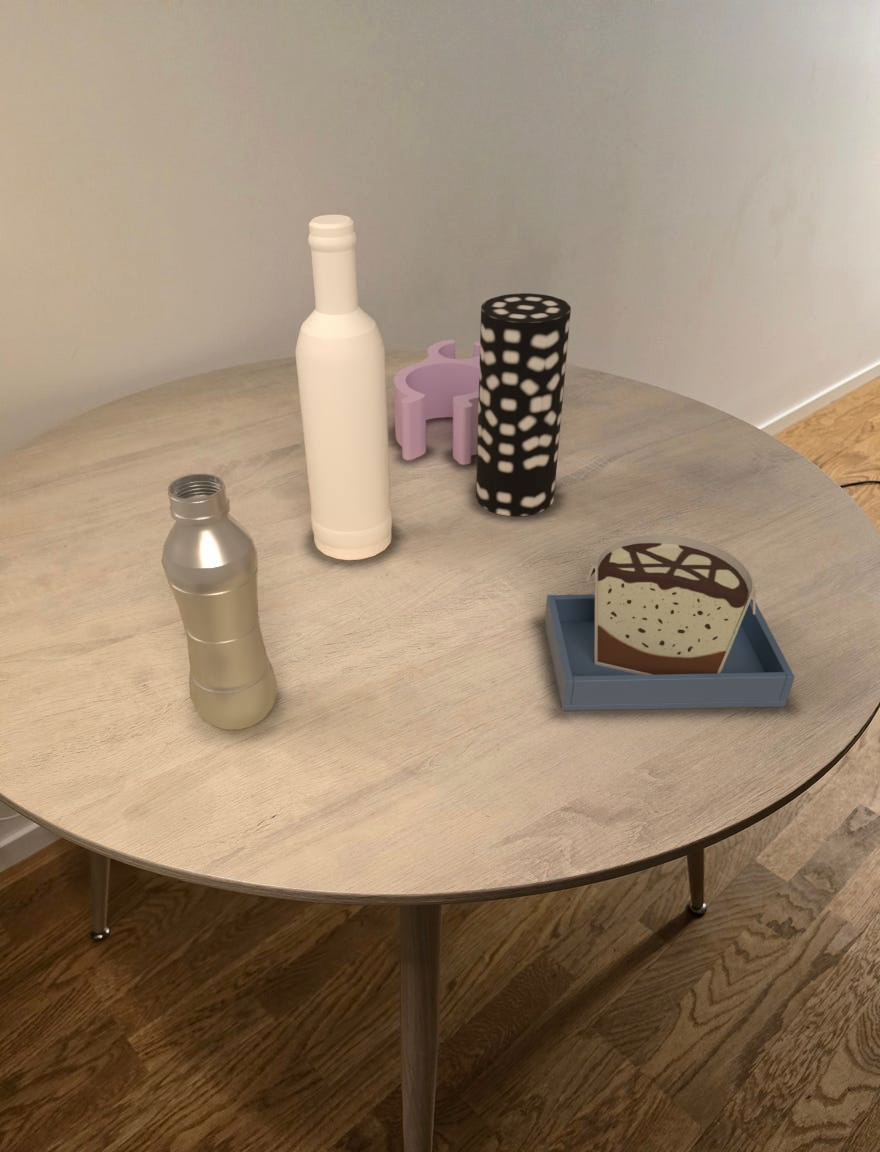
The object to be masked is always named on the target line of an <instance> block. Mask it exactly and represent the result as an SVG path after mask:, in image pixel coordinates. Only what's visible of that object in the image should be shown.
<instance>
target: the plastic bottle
mask: <svg viewBox="0 0 880 1152" xmlns="http://www.w3.org/2000/svg"><path fill="white" fill-rule="evenodd" d="M167 495H168V500H169V504H170V506H169V511H170V515H171V518H172V519H173V520H174V523H173V525H172V527H171V529H170V530H169V532H168V534H167V537H166V538H165V541H164V544H163V546H162V553H161V554H162V555H161V564H162V568H163V572H164V574H165V577H166V580H167V583H168V585H169V587H170V590H171V592H172V595H173V598H174V600H175V603H176V605H177V608H178V611H179V614H180V617H181V621H182V624H183V628H184V633H185V635H186V643H187V651H188V660H189V661H188V663H189V677H188V680H189V681H188V685H189V687H188V688H189V696H190V700H191V702H192V704H193V706H194V708H195V710H196V712H197V714H198V716H199V717H200V718H201V719H202V720H204V721H206V722H207V723H209V724H210V725H212V726H213V727H216V728H219V729H221V730H233V731H234V730H242V729H246V728H249V727H252V726H255V725H256V724H258V723H260V722H261V721H262V720H264V719H265V718H266V717H267V715H269V713H270V712H271V710H272V709H273V708H274V705H275V702H276V699H277V688H278V686H277V685H278V683H277V678H276V675H275V672H274V669H273V666H272V663H271V660H270V658H269V656H268V653H267V649H266V645H265V642H264V638H263V635H262V630H261V625H260V624H261V623H260V615H259V602H258V601H259V600H258V578H259V577H258V576H259V575H258V574H259V573H258V572H259V557H258V556H259V555H258V547H257V545H256V542H255V541H254V539H253V537H252V535H251V533H249V531H248V530H247V529H246V527H244V526H243V525H242V524H241V523H240V521H238V520H236V519H235V518H234V517H233V516H232V515H230V511H231V503H230V499H229V497H228V495H227V489H226V485H225V483H224V480H223V479H222V478H221V477H219V476H218V475H214V474H210V473H192V474H187V475H183V476H180V477H178V478H176V479H175V480H172V482H170V483H169V484H168V487H167Z"/></svg>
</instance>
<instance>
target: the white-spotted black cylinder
mask: <svg viewBox="0 0 880 1152" xmlns="http://www.w3.org/2000/svg"><path fill="white" fill-rule="evenodd" d="M571 309H572V307H571V305H570V304H569V302H567V301H566V300H564V299H562V298H559V297H556V296H553V295H547V294H541V293H531V292H529V293H528V292H526V293H524V292H520V293H510V294H502V295H498V296H494V297H491V298H489V299H487V300H485V301H484V302H482V304H481V307H480V334H479V335H480V336H479V341H480V367H479V403H478V439H477V454H476V477H475V478H476V479H475V480H476V481H475V499H476V502H477V503H478V504H479V505H480V507H482V508H483V509H485V510H487V511H489V512H491V513H494V514H497V515H502V516H508V517H527V516H533V515H537V514H539V513H542V512H543V511H546V510H548V509H549V508H550V507H551V505H553V503H554V500H555V490H556V481H557V480H556V479H557V468H558V457H559V445H560V434H561V426H562V425H561V423H562V412H563V402H564V401H563V400H564V391H565V378H566V369H567V368H566V367H567V356H568V345H569V335H570V323H571V313H572V310H571Z"/></svg>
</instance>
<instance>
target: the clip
mask: <svg viewBox="0 0 880 1152" xmlns="http://www.w3.org/2000/svg"><path fill="white" fill-rule="evenodd" d="M473 346H474V347H473V357H470V358H456V341H455V339H446V340H441V341H438V342H435V343H433V344H431V345H430V346H428V348H427V351H426V358H425V359H424V360H422V361H419V362H416V363H413V364H411V365H408V366H405V367H404V368H402V369H401V370H399V371H398V372H397V373H396V374H395V375H394V377H393V399H394V400H393V401H394V402H393V403H394V429H395V430H394V431H395V440H396V442H397V444H398V445H399V446H400V447H401V454H402V455H401V458H402V459H403V460H405V461H413V460H414V459H418V458H420V457H422V456H423V455H425V454H426V452H427V428H426V427H427V426H426V425H427V423H426V421H428V420H429V421H430V420H433V419H439V418H440V419H441V418H452V459H454V460H455V461H456V462H457V463H458V464H459V465H461V466H466V465H469V464H471V463H472V456H474V455H477V439H478V403H479V367H480V340H478V341H474V343H473Z"/></svg>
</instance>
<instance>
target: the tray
mask: <svg viewBox="0 0 880 1152" xmlns="http://www.w3.org/2000/svg"><path fill="white" fill-rule="evenodd" d="M545 604H546V605H545V616H544V627H545V632H546V638H547V642H548V647H549V651H550V657H551V662H552V666H553V671H554V676H555V680H556V685H557V691H558V694H559V700H560V705H561V710H562V712H569V711H570V712H571V711H572V712H573V711H575V712H576V711H622V710H623V711H627V710H675V709H676V710H678V709H680V710H681V709H727V708H728V709H729V708H731V709H732V708H733V709H734V708H736V709H737V708H774V707H775V708H783V707H786V704H787V702H788V699H789V696H790V693H791V689H792V686H793V683H794V680H795V678H796V677H795V674H794V673H793V671H792V668H791V667H790V665H789V662H788V661H787V659H786V657H785V655H784V653H783V652H782V650H781V648H780V646H779V644H778V642H777V641H776V638H775V636H774V635H773V632H772V631H771V629H770V627H769V624H768V623H767V621H766V619H765V617H764V615H763V614H762V611H761V610H760V608H759V606H758V604H757V603H756V604H755V614H753V605H752V601H750V603H749V605H748V608H747V610H746V613H745V615H744V618H743V620H742V622H741V625H740V627H739V630H738V632H737V634H736V637H735V639H734V642H733V644H732V647H731V649H730V651H729V654H728V656H727V659H726V661H725V663H724V666H723V668H722V671H721V673H713V674H663V675H638V674H634V673H630V672H625V671H621V670H617V669H612V668H608V667H604V666H600V665H595V664H594V651H595V593H591V594H589V593H588V594H587V593H586V594H583V593H581V594H547V596H546V603H545Z"/></svg>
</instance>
